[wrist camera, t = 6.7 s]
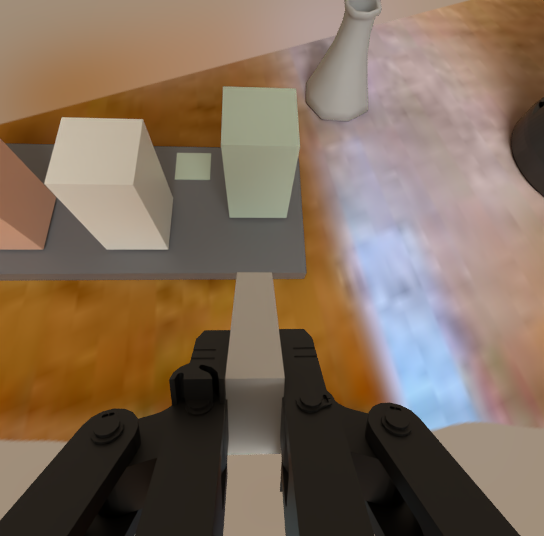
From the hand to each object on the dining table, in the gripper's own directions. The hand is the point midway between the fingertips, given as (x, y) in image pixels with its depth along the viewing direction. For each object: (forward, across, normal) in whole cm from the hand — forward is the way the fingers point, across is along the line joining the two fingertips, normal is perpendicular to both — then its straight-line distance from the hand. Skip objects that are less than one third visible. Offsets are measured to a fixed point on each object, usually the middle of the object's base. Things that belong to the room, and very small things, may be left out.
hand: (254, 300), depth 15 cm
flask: (+29, +9, +10) cm, 32 cm away
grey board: (+18, -10, -1) cm, 20 cm away
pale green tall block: (+18, 0, +1) cm, 18 cm away
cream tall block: (+16, -10, -1) cm, 18 cm away
